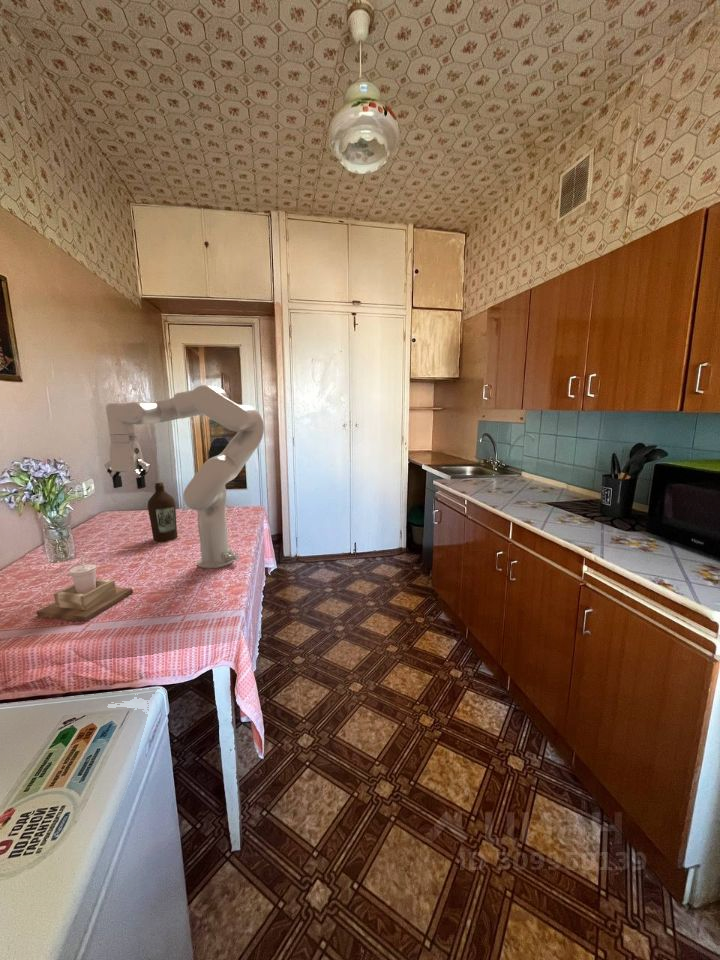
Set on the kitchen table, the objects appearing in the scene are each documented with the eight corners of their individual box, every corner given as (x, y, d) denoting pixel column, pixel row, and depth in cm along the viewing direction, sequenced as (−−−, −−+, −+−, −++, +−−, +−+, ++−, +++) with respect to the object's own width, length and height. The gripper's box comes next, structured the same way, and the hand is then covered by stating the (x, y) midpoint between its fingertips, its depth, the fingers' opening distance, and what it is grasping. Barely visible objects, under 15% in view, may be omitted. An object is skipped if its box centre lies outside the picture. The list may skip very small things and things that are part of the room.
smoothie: (80, 607, 105) (72, 560, 102) (70, 601, 108) (61, 555, 105) (105, 597, 110) (98, 552, 107) (94, 592, 113) (87, 548, 111)
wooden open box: (133, 593, 115) (130, 576, 114) (86, 622, 100) (83, 603, 99) (89, 589, 119) (86, 573, 118) (37, 616, 103) (33, 598, 102)
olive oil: (148, 538, 165) (141, 482, 160) (174, 533, 172) (168, 479, 167) (156, 544, 157) (149, 486, 153) (182, 538, 165) (176, 482, 160)
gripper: (152, 438, 132) (158, 486, 135) (111, 438, 136) (117, 485, 139) (136, 440, 125) (143, 490, 128) (92, 440, 128) (100, 489, 132)
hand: (129, 487), depth 133 cm, fingers open, 9 cm apart
